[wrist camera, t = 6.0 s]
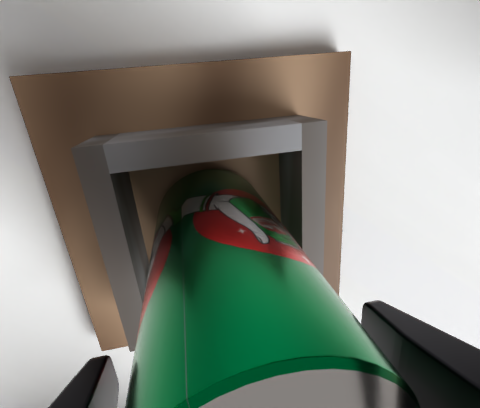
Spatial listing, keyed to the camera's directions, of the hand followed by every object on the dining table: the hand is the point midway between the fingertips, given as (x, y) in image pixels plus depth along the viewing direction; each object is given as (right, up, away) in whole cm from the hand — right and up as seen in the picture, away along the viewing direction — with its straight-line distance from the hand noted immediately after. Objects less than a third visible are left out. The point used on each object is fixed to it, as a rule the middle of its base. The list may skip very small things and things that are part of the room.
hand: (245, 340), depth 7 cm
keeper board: (-2, +3, +8) cm, 9 cm away
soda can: (-2, +3, +7) cm, 8 cm away
